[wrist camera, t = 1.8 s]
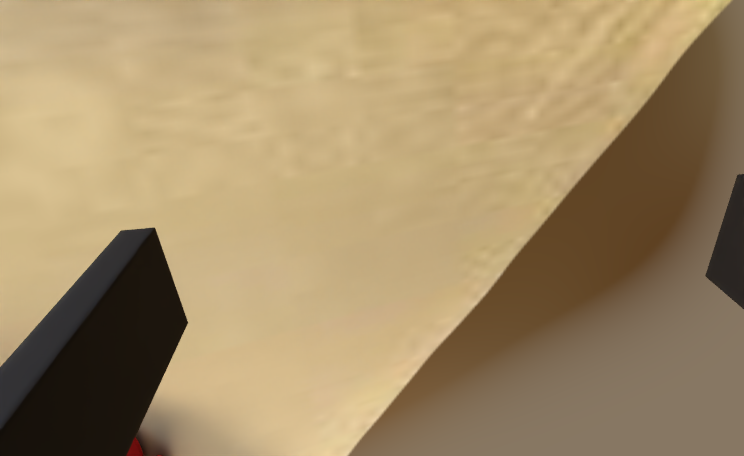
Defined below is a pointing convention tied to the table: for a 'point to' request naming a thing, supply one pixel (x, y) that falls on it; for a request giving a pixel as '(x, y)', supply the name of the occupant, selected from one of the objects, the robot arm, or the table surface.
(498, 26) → the table surface
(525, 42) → the table surface
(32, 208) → the table surface
